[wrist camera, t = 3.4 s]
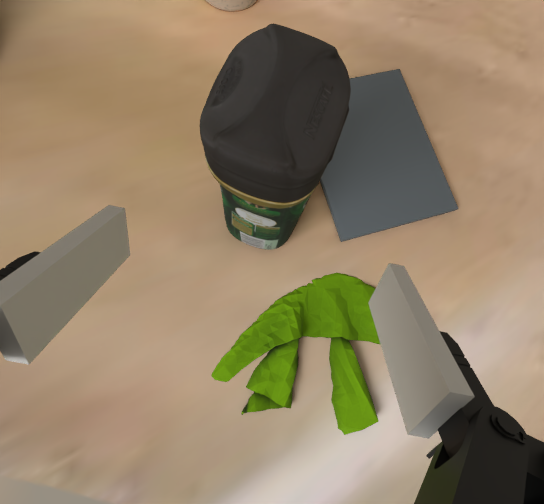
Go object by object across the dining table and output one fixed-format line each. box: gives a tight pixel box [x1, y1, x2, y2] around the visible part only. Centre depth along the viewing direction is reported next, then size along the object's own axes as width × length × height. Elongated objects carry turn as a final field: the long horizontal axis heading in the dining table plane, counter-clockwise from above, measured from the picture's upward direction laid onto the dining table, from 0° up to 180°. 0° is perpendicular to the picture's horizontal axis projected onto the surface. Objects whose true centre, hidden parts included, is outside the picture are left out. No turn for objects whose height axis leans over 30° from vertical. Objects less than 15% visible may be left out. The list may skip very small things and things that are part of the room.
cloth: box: [212, 273, 380, 435], centre depth 29 cm, size 20×22×2 cm
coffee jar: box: [200, 24, 351, 249], centre depth 23 cm, size 10×8×19 cm
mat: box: [320, 69, 458, 242], centre depth 34 cm, size 20×15×1 cm
